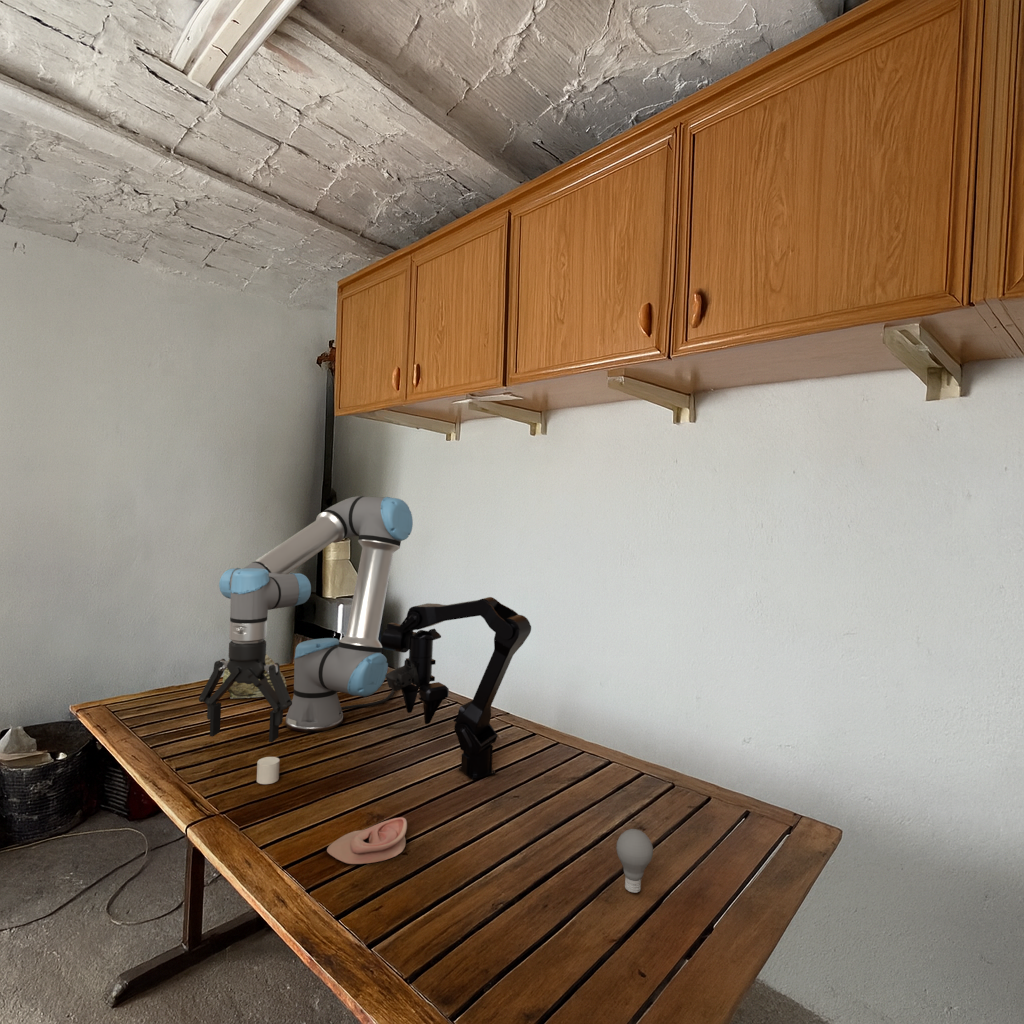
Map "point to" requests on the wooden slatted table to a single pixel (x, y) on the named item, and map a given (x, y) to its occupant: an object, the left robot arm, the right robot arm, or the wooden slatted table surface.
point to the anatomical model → (371, 843)
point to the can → (268, 770)
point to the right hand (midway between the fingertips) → (418, 718)
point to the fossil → (249, 689)
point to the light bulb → (634, 857)
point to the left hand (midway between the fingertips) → (244, 737)
